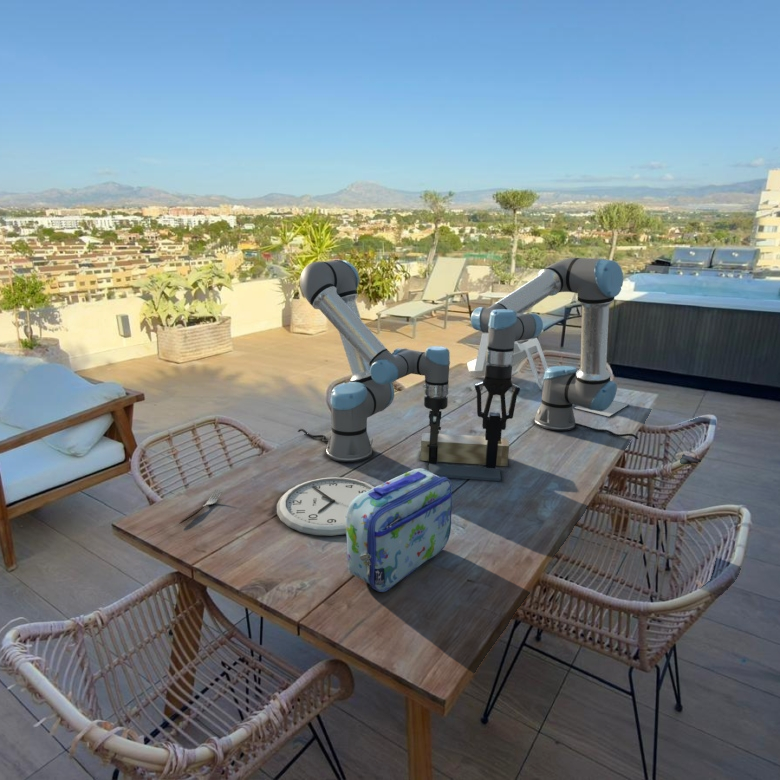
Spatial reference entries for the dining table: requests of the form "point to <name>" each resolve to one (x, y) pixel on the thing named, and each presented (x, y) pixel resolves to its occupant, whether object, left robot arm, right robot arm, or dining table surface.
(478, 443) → the wooden block
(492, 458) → the peg
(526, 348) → the white plastic object
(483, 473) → the mat
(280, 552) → the dining table surface
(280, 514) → the wall clock
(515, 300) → the right robot arm
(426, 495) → the lunch box
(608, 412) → the invitation card
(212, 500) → the fork
